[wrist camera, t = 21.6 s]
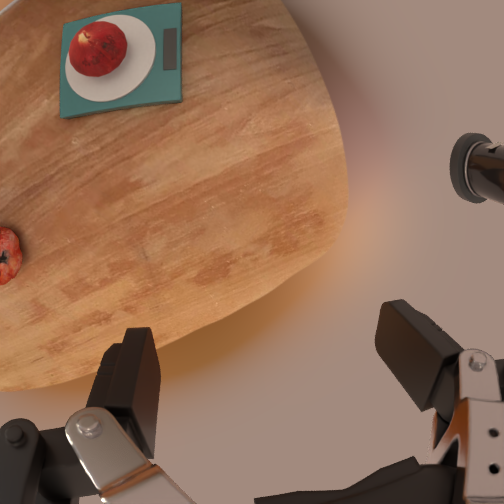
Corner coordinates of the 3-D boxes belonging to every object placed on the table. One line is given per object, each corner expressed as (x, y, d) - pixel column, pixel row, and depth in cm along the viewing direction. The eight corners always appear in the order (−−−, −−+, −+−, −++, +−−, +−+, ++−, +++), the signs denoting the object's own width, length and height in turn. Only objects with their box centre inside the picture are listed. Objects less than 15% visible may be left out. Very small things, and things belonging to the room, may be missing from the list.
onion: (144, 44, 27) (128, 18, 19) (115, 90, 28) (91, 77, 20) (101, 27, 25) (77, 1, 17) (74, 72, 26) (42, 57, 19)
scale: (182, 10, 28) (180, -1, 25) (182, 102, 32) (180, 98, 29) (70, 29, 26) (61, 22, 23) (67, 119, 30) (57, 118, 28)
